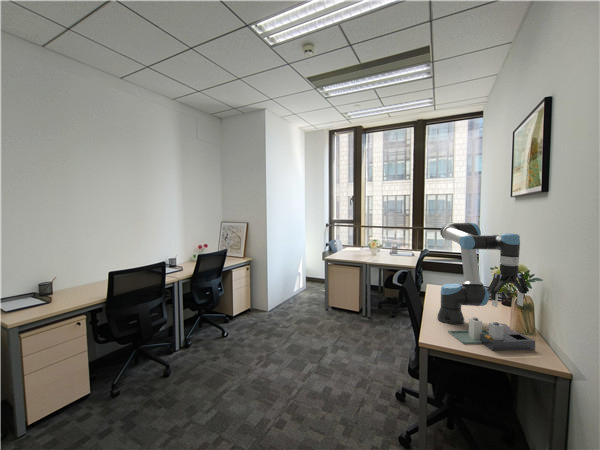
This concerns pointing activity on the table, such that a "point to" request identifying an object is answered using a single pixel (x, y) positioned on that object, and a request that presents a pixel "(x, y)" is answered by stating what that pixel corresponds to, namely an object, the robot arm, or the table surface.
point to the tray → (466, 336)
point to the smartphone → (507, 329)
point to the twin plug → (496, 331)
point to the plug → (475, 328)
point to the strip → (508, 342)
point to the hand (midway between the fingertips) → (507, 305)
